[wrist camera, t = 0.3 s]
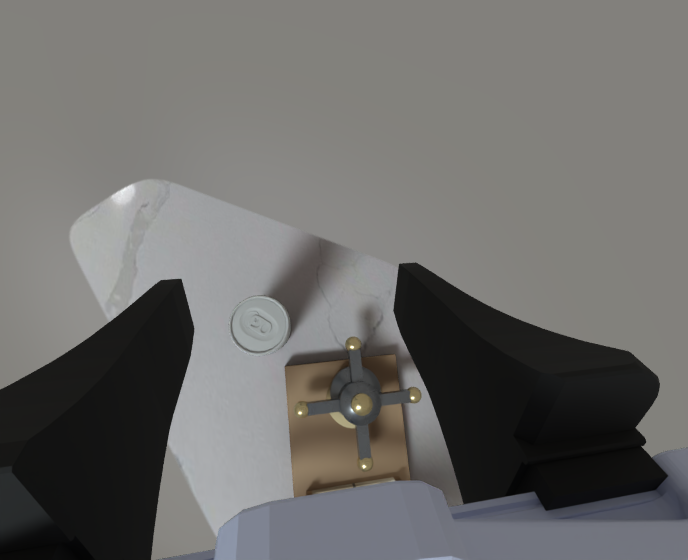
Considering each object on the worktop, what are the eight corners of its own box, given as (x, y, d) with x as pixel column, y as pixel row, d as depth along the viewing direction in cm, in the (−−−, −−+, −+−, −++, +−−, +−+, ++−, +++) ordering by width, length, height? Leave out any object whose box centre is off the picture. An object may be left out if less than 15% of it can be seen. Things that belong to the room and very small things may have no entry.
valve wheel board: (409, 506, 39) (421, 523, 35) (296, 526, 37) (297, 546, 33) (391, 354, 41) (401, 355, 38) (284, 365, 39) (284, 368, 36)
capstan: (421, 454, 38) (435, 466, 34) (298, 473, 36) (299, 488, 32) (406, 331, 40) (418, 329, 36) (288, 342, 38) (288, 342, 34)
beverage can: (262, 300, 40) (250, 282, 28) (299, 323, 40) (302, 314, 29) (236, 337, 39) (213, 335, 27) (274, 361, 39) (268, 368, 28)
